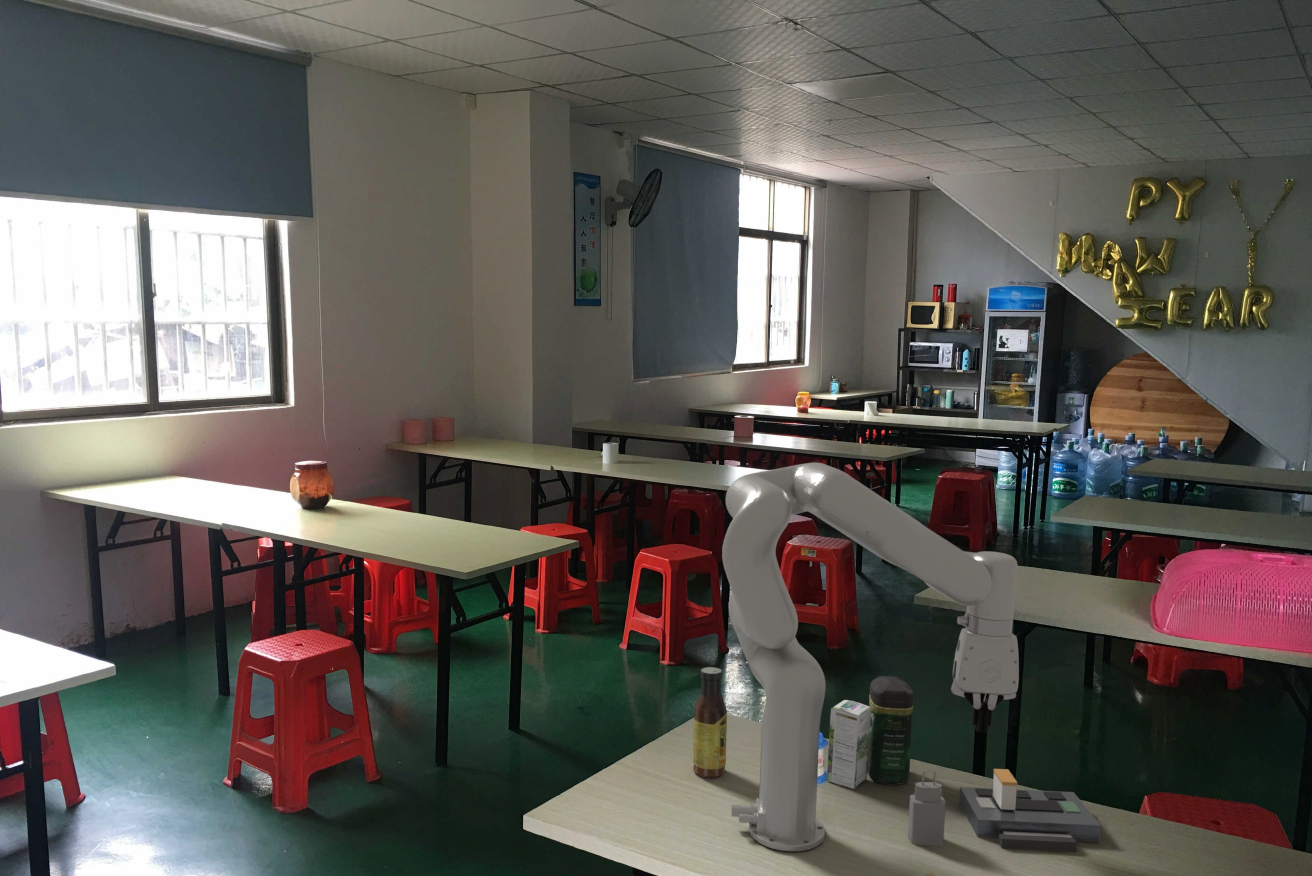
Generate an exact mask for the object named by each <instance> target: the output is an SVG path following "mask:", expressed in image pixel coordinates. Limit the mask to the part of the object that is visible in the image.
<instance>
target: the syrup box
mask: <svg viewBox="0 0 1312 876" xmlns="http://www.w3.org/2000/svg"><path fill="white" fill-rule="evenodd" d="M870 718H871V708H870V707H869V705H866V704H863V703H860V702H858V701H857V702H856V701H854V700H848V699H844V700H842V701H841V702H839V703H837V704H836V705H834V706H833V707H831V709H830V719H829V720H830V721H829V723H830V724H829V733H828V734H829V735H828V737H829V738H828V739H829V740H828V753H827V754H828V757H827V767H826V768H827V769H826V770H827V771H826V781H827V782H829V783H832V784H835V785H838V786H842V787H845V788H849V789H853V790H855V789H856V788H857V787H858V786H860V785H861V784H862V783H863V782H865V780H867V777H868V773H867V766H868V750H869V735H870Z"/></svg>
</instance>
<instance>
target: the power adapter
mask: <svg viewBox="0 0 1312 876" xmlns="http://www.w3.org/2000/svg"><path fill="white" fill-rule="evenodd" d="M936 774H937V773H936V770H934V771H933V777H932V778H933V779H932V781H928V782H927V781H925V770H922V779H921V780H922V781H919V782H916V783H915V784H914V794H910V795H909V809H908V828H907V839H908V840H909V842H910V844H912V845H915V846H943V845H944V840H945V839H944V837H945V825H946V823H945V820H946V804H947V803H946V802H947V801H946V800H945V798H944V797H943V796H942V787H943V785H942V784H940V783H938V782H936Z"/></svg>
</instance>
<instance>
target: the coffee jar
mask: <svg viewBox="0 0 1312 876" xmlns="http://www.w3.org/2000/svg"><path fill="white" fill-rule="evenodd" d="M868 701H869V703H868V706H869V707H870V708H871V718H870V735H869V750H868V766H867V776H868V777H869V778H870V779H871V780H872V781H873V782H877V783H881V784H884V785H888V786H897V785H901V784H906V783H907V782H908V781H909V779H910V771H911V770H910V768H911V750H912V749H911V748H912V731H913V714H914V693H913V690H912V688H911V687H910V684H908V683H907V682H905V680H902V679H901V678H900V677H899V676H889V675H887V676H885V675H879V676H878V677H876V678H875V679H873V680H872V681H871V682H870V686H869V699H868Z"/></svg>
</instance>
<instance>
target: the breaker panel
mask: <svg viewBox="0 0 1312 876" xmlns="http://www.w3.org/2000/svg"><path fill="white" fill-rule="evenodd" d="M958 800H959V801H958V804H959V805H960V807H961V809H962V811H963V814H964V815H965V816H966V817H965V818H967V820H968V822H969V824H970V825H971V827H972V830H973V831H974V833H975V836H976V837H978V838H980V837H981V838H994V839H995V838H997V839H999V834H1003V831H1005V832H1026V833H1046V834H1067V835H1071V837H1073V838H1074V839H1075V841H1076V842H1077V843H1079V842H1080V843H1081V842H1082V843H1100V836H1101V835H1100V834H1101V824H1100V823H1099V822H1098V820H1097V819H1096V818H1095V817H1094V815H1093V814H1091V811H1089V809H1088V808H1087V807H1086V805H1084V803H1083V802H1082V801H1081V800H1080V798H1079V796H1077V794H1076V793H1075V792H1074V791H1057V790H1056V791H1055V790H1054V791H1053V790H1036V789H1035V790H1031V789H1017V790H1016V806H1015V810H1006V809H1000V807H999V805H998V804H997V802H996V800H995V799H994V797H993V787H992V788H991V787H990V788H989V787H972V786H971V787H968V786H964V787H963V786H960V787H959V797H958Z"/></svg>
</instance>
